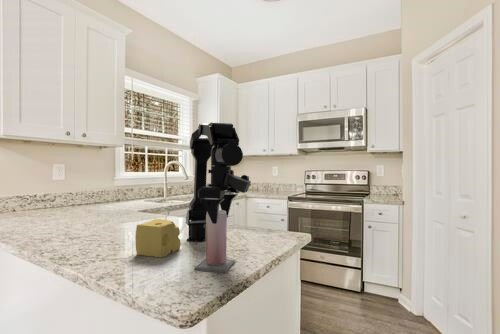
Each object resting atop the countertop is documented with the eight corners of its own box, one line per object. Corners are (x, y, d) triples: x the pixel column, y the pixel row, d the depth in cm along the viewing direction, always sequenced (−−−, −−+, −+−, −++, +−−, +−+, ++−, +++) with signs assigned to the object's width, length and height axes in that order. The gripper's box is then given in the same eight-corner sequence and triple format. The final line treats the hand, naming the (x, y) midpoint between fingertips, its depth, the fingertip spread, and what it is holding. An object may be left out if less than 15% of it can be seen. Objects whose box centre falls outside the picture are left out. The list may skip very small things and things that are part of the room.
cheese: (180, 249, 95) (180, 220, 95) (161, 259, 85) (161, 226, 85) (155, 246, 99) (155, 218, 99) (133, 255, 89) (134, 224, 89)
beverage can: (206, 259, 83) (207, 209, 83) (226, 259, 83) (226, 209, 83) (204, 266, 77) (205, 213, 77) (226, 266, 77) (226, 213, 77)
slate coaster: (194, 269, 76) (194, 267, 76) (207, 259, 85) (207, 257, 85) (225, 273, 74) (225, 270, 74) (234, 262, 83) (234, 259, 83)
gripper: (238, 166, 68) (238, 229, 68) (255, 166, 86) (255, 216, 86) (197, 165, 71) (196, 226, 71) (221, 166, 89) (221, 214, 89)
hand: (220, 220), depth 79 cm, fingers open, 9 cm apart
